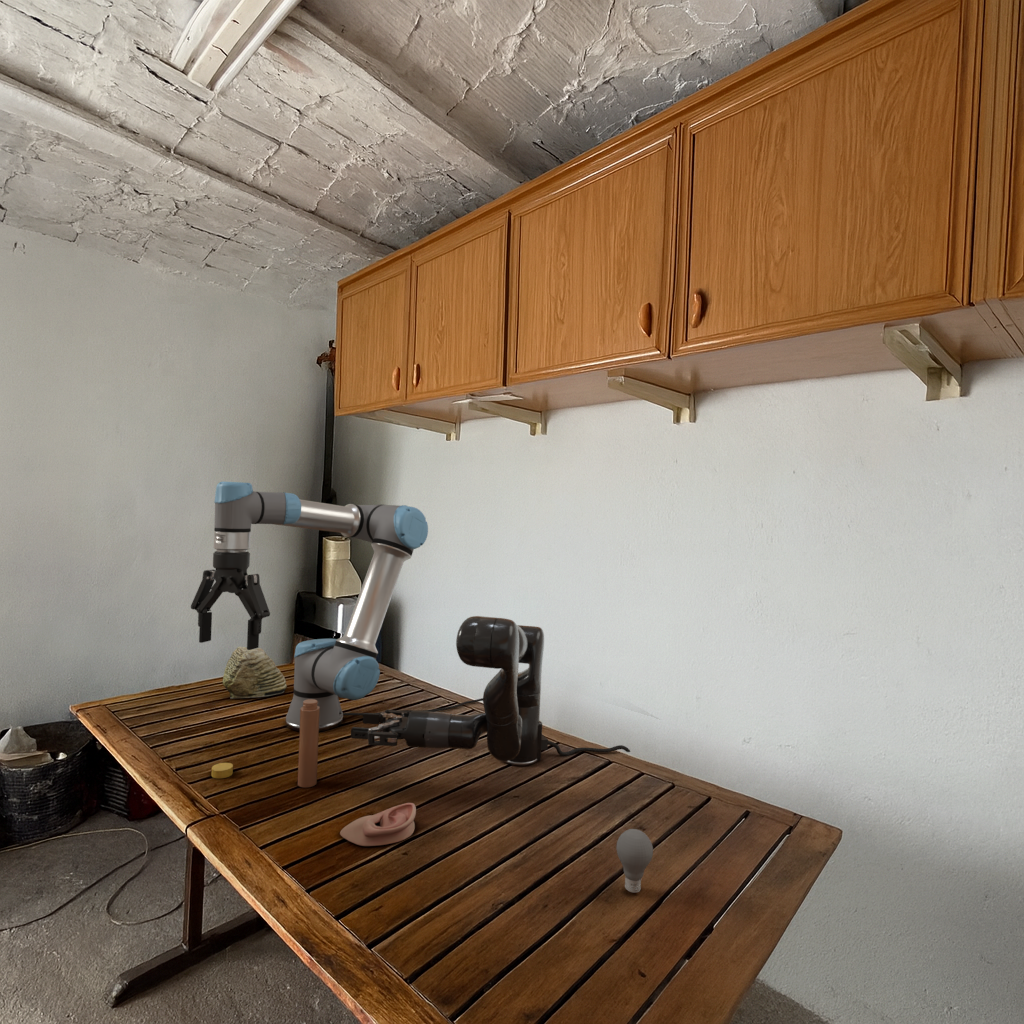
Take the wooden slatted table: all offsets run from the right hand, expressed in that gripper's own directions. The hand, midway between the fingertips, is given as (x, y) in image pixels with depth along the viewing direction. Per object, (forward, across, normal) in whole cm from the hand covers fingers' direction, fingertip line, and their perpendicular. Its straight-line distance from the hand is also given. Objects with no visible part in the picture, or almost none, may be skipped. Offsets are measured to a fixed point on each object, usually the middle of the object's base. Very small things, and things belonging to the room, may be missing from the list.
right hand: (357, 725), depth 139 cm
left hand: (+30, -2, -16) cm, 34 cm away
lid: (+31, -1, +12) cm, 33 cm away
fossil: (+50, -55, +15) cm, 76 cm away
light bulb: (-57, +30, +13) cm, 66 cm away
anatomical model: (-10, +18, +13) cm, 25 cm away
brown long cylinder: (+11, +1, +14) cm, 17 cm away
